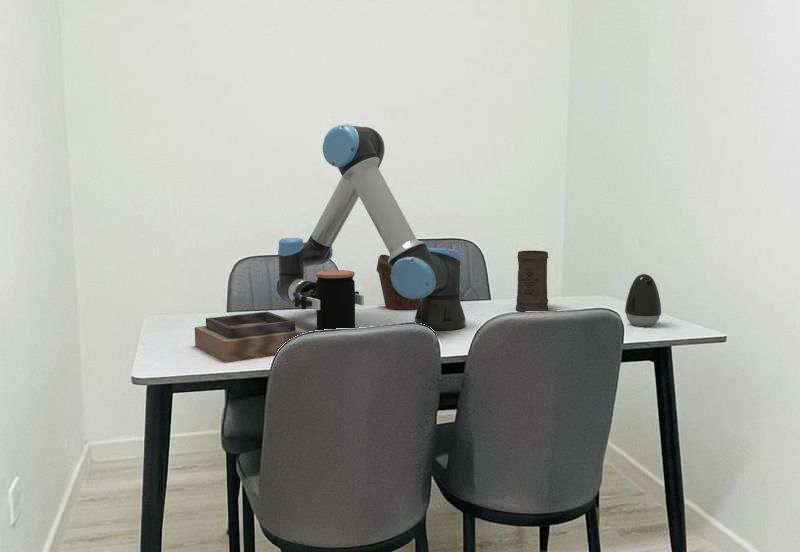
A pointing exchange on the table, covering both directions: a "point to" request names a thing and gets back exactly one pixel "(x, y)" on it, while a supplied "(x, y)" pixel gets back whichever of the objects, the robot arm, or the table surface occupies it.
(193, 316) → the table surface
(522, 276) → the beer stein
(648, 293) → the black rounded piece
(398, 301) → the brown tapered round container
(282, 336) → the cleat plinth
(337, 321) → the coffee jar
